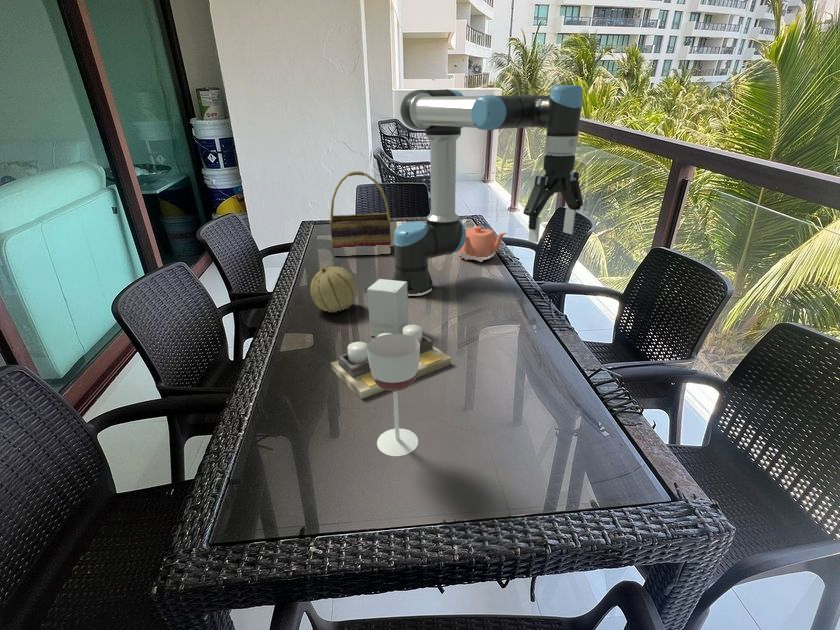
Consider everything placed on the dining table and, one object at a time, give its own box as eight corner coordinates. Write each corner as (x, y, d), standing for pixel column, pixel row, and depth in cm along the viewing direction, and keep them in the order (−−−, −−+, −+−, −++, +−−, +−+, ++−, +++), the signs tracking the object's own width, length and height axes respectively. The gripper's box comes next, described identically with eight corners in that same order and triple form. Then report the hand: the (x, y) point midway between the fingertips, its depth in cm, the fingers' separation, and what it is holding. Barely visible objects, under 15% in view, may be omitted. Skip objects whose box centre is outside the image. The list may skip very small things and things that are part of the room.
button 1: (345, 357, 114) (344, 345, 113) (363, 352, 117) (362, 339, 115) (354, 366, 110) (353, 353, 109) (372, 360, 113) (371, 347, 112)
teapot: (505, 263, 191) (507, 230, 185) (463, 267, 187) (463, 234, 181) (489, 251, 207) (491, 220, 201) (450, 254, 203) (450, 223, 197)
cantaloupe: (367, 309, 151) (364, 265, 145) (331, 324, 141) (326, 278, 135) (339, 297, 160) (335, 256, 154) (303, 311, 150) (298, 267, 144)
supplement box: (409, 327, 138) (408, 280, 132) (398, 341, 131) (396, 292, 124) (381, 323, 141) (379, 277, 135) (369, 336, 133) (366, 288, 127)
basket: (332, 257, 201) (323, 174, 186) (333, 248, 214) (326, 170, 200) (392, 255, 204) (389, 172, 189) (390, 245, 217) (387, 168, 202)
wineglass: (373, 429, 96) (367, 335, 86) (419, 426, 96) (417, 332, 87) (373, 458, 88) (366, 358, 79) (423, 455, 89) (422, 355, 79)
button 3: (399, 339, 122) (399, 328, 121) (415, 334, 125) (414, 323, 123) (410, 347, 119) (409, 335, 117) (425, 341, 121) (425, 329, 120)
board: (331, 369, 117) (329, 354, 115) (415, 340, 131) (415, 326, 129) (361, 399, 105) (360, 382, 103) (450, 364, 119) (451, 349, 117)
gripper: (536, 159, 106) (528, 248, 115) (604, 151, 119) (592, 232, 128) (513, 156, 112) (507, 241, 121) (580, 149, 124) (570, 227, 133)
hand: (551, 237), depth 124 cm, fingers open, 13 cm apart
